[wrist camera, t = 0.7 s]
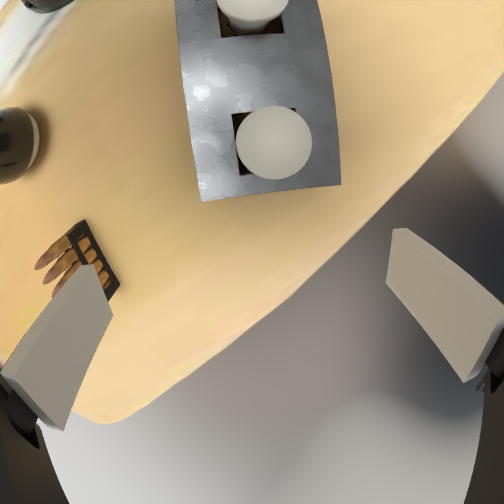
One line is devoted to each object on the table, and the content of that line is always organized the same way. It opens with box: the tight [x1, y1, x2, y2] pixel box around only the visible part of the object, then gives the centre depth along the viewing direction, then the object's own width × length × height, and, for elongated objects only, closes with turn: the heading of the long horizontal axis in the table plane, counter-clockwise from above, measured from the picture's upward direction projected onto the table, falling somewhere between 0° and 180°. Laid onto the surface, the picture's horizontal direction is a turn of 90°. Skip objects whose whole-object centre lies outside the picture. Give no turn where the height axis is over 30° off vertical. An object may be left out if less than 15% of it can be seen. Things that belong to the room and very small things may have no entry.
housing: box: [175, 0, 341, 202], centre depth 24 cm, size 24×14×6 cm, turn 7°
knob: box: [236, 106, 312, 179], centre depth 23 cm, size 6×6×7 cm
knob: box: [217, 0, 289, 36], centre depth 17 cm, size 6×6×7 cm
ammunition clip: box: [34, 220, 120, 301], centre depth 28 cm, size 11×2×12 cm, turn 19°
